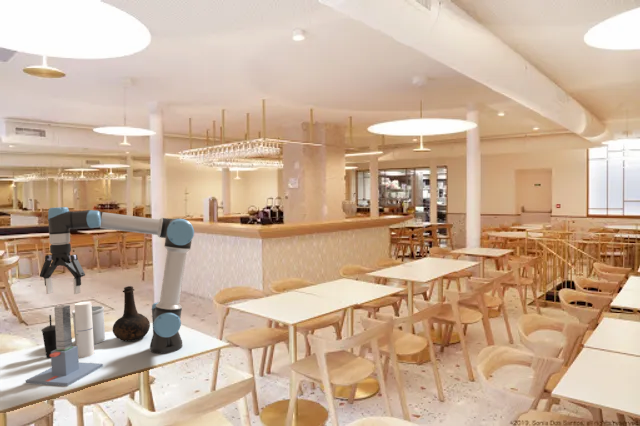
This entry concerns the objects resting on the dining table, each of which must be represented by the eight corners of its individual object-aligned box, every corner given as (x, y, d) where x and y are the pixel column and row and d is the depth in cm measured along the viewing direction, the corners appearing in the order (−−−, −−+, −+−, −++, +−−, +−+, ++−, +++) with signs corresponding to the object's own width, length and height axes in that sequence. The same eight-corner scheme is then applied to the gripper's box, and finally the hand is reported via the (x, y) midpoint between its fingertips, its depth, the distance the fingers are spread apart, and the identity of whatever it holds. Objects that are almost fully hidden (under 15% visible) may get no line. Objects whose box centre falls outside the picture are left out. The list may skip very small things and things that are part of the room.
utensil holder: (72, 348, 216) (70, 314, 215) (75, 340, 230) (73, 307, 229) (104, 343, 222) (103, 310, 221) (106, 335, 236) (104, 304, 235)
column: (73, 355, 185) (70, 305, 184) (65, 359, 180) (62, 307, 180) (64, 355, 186) (61, 305, 185) (56, 359, 181) (53, 307, 181)
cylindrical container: (86, 357, 202) (83, 305, 201) (73, 357, 204) (70, 304, 203) (97, 352, 209) (94, 301, 208) (84, 351, 211) (82, 301, 210)
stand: (102, 366, 191) (101, 341, 191) (67, 386, 171) (66, 358, 171) (64, 364, 195) (62, 340, 195) (25, 383, 176) (24, 356, 175)
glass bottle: (157, 334, 235) (154, 283, 234) (135, 345, 218) (133, 290, 217) (128, 332, 239) (126, 283, 238) (105, 343, 222) (102, 290, 221)
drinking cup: (65, 354, 208) (63, 313, 207) (49, 360, 201) (47, 317, 200) (55, 352, 211) (52, 312, 210) (39, 358, 204) (36, 316, 203)
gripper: (92, 242, 183) (95, 291, 184) (42, 243, 188) (45, 291, 189) (79, 244, 176) (82, 295, 177) (27, 245, 181) (31, 295, 182)
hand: (63, 293), depth 183 cm, fingers open, 13 cm apart
